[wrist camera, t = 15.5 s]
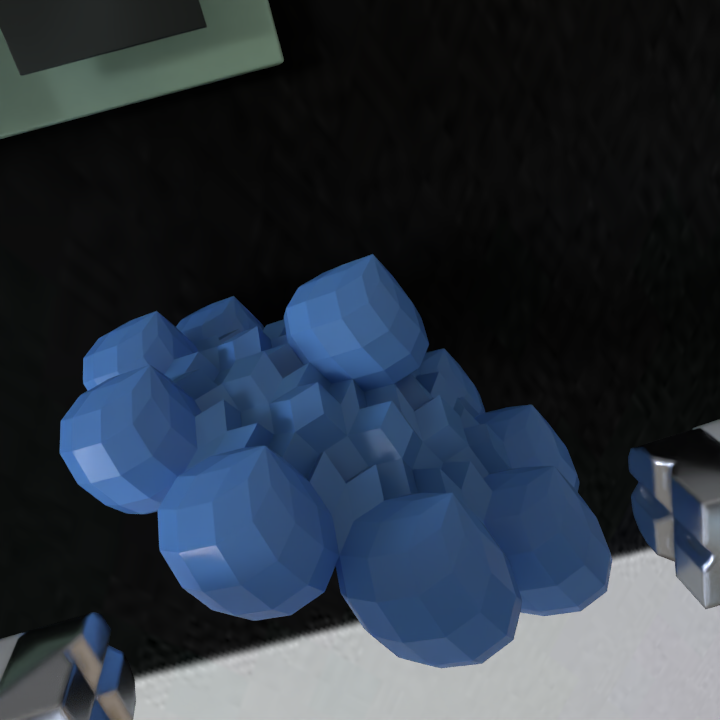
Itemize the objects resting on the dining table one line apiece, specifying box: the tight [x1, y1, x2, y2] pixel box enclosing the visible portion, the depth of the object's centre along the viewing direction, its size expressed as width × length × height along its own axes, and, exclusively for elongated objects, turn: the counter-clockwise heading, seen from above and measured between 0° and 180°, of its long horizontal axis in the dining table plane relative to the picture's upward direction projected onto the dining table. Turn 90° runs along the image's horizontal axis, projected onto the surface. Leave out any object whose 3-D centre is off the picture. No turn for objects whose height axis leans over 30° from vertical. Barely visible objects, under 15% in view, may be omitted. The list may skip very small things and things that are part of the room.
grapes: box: [60, 254, 612, 668], centre depth 14 cm, size 12×7×12 cm, turn 77°
